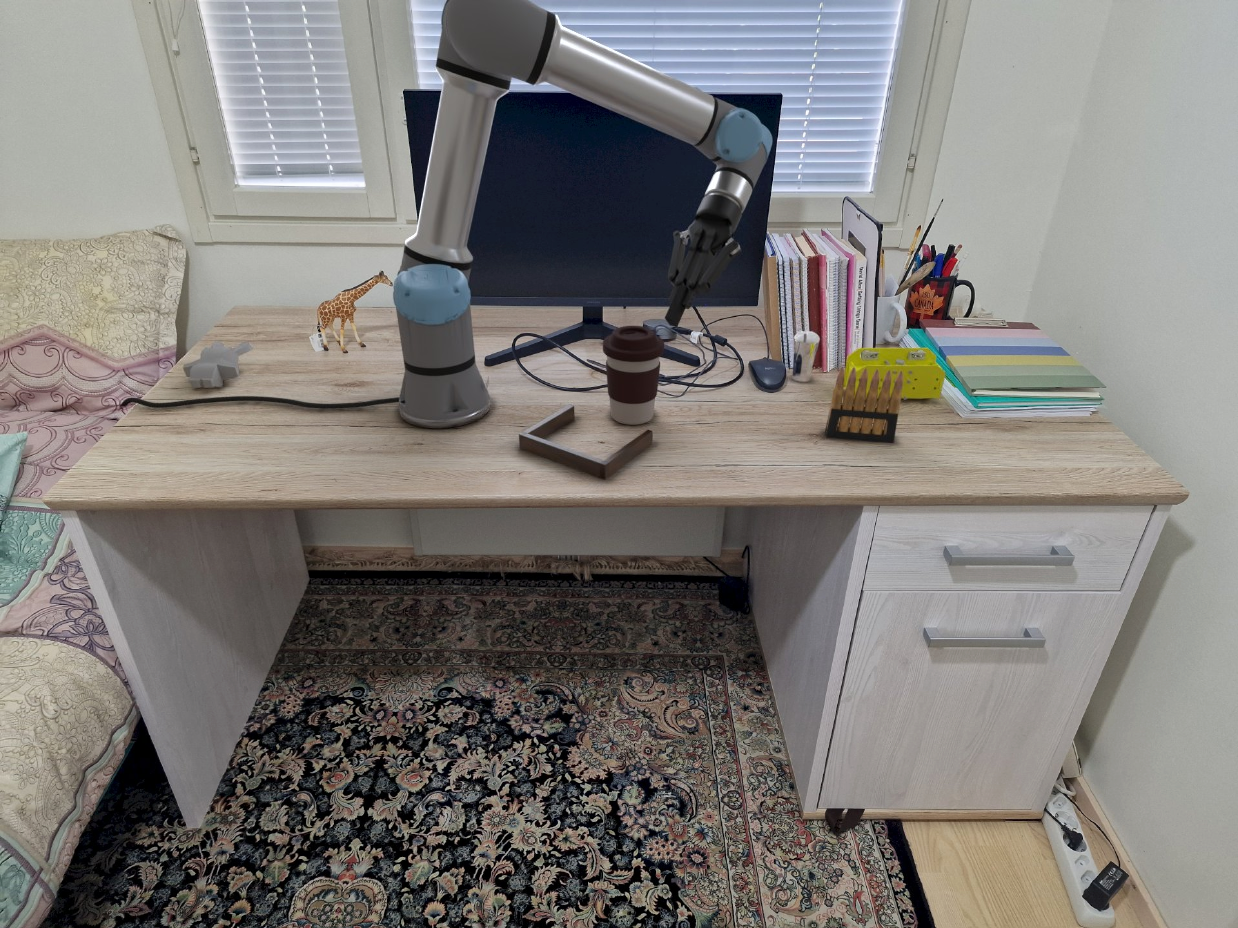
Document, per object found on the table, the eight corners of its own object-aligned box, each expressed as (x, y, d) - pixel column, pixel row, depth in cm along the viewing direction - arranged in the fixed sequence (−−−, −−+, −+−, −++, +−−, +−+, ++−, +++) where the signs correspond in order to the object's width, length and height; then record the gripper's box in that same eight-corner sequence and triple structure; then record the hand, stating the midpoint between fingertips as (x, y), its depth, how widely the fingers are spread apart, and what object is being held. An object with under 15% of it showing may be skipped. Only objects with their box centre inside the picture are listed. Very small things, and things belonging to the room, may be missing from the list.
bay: (570, 417, 128) (569, 404, 127) (652, 444, 121) (653, 430, 119) (519, 448, 119) (518, 434, 118) (605, 479, 111) (605, 465, 110)
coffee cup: (656, 432, 124) (660, 346, 117) (597, 426, 126) (596, 341, 118) (664, 406, 133) (668, 324, 125) (609, 401, 134) (609, 319, 127)
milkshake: (785, 382, 141) (792, 332, 136) (791, 372, 146) (798, 322, 141) (810, 387, 140) (818, 335, 135) (815, 376, 144) (823, 325, 139)
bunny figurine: (169, 372, 133) (204, 332, 145) (179, 397, 137) (212, 356, 148) (224, 372, 134) (254, 332, 146) (232, 397, 137) (261, 356, 149)
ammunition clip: (825, 437, 123) (836, 368, 117) (824, 431, 125) (835, 364, 119) (893, 443, 122) (908, 373, 116) (892, 437, 123) (907, 369, 117)
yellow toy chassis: (927, 389, 139) (937, 346, 135) (939, 403, 135) (949, 359, 130) (840, 389, 139) (847, 347, 135) (849, 403, 134) (857, 359, 130)
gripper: (761, 223, 134) (710, 340, 131) (697, 213, 141) (646, 325, 137) (751, 196, 128) (697, 319, 124) (684, 188, 134) (631, 304, 131)
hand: (670, 322), depth 131 cm, fingers closed
